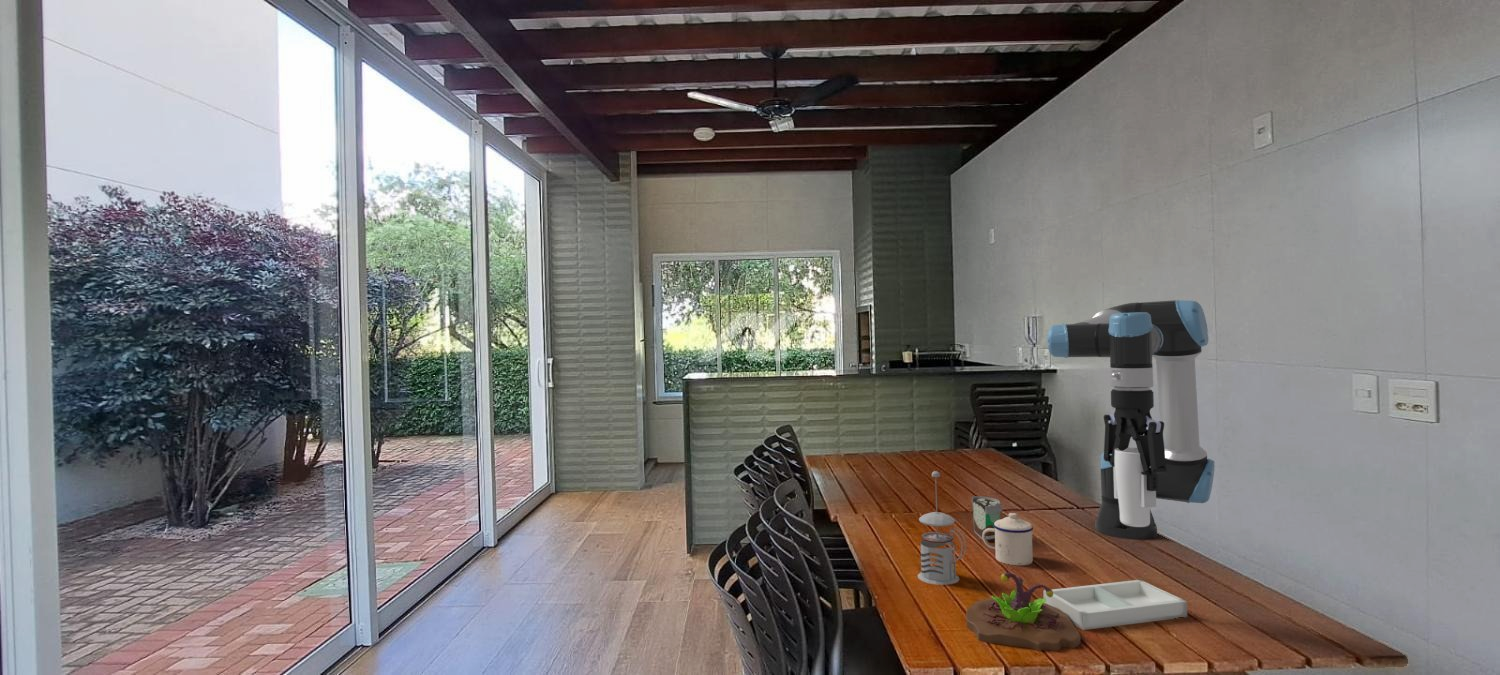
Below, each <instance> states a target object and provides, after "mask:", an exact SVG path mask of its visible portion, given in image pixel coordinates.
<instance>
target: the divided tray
mask: <svg viewBox="0 0 1500 675" xmlns="http://www.w3.org/2000/svg"><path fill="white" fill-rule="evenodd" d="M1051 590H1052V591H1053V596H1052V597H1051V598H1050V597H1048V596H1047V594H1046V589H1044V590H1043V593H1042V594H1043V598H1045V599H1046V601H1045V602H1044V603H1046V604H1048V605H1051V606H1053V607H1056V608H1058V609H1060V610H1061V611H1063V612H1064V613H1066V614H1068V617H1069V619H1070V620H1071V622H1072V623H1073V625H1074V626H1075V627H1077V628H1079V629H1081V630H1082V631H1086V630H1087V631H1088V630H1093V629H1094V630H1095V629H1102V628H1103V629H1104V628H1112V627H1117V626H1120V627H1121V626H1126V625H1127V626H1128V625H1134V624H1136V625H1137V624H1142V623H1153V622H1157V621H1160V622H1161V621H1167V620H1174V618H1176V619H1179V618H1178V617H1184V618H1188V600H1185V599H1183V598H1181V597H1179V596H1177V595H1174V594H1172V593H1170V592H1168V591H1165V590H1163V589H1161V588H1159V587H1156V586H1155V585H1152V584H1151V583H1148V582H1146V581H1144V580H1142V579H1134V580H1127V581H1125V580H1124V581H1115V582H1108V583H1100V584H1099V583H1098V584H1090V585H1081V586H1072V587H1063V588H1062V587H1061V588H1054V589H1051Z"/></svg>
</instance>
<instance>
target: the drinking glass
mask: <svg viewBox="0 0 1500 675" xmlns="http://www.w3.org/2000/svg"><path fill="white" fill-rule="evenodd" d="M1114 466H1115V477H1116V485H1117V493H1118V502H1119V511H1120V521H1121V523H1123V524H1125V525H1128V526H1132V527H1146V526H1148V525H1149V524H1150V510H1151V507H1146V508H1144V507H1141V472H1144V470H1143V466H1142V463H1141V459H1140V453H1139V452H1138V449H1137V447H1128V448H1127V449H1125V450H1123V451H1121V450H1119V449H1118V448H1117V449H1115V454H1114ZM1150 468H1151V466H1150Z"/></svg>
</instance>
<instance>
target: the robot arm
mask: <svg viewBox="0 0 1500 675" xmlns="http://www.w3.org/2000/svg"><path fill="white" fill-rule="evenodd" d="M1047 332H1048V333H1047V337H1046V338H1047V341H1046V342H1047V349H1048V352H1049V354H1050V355H1051V356H1052V357H1053V358H1054V357H1055V358H1065V359H1067V358H1110V359H1109V362H1110V365H1109V366H1110V386H1111V387H1113V389H1111V391H1110V406H1111V407H1112V408H1114V409H1115V410H1114V412H1113V414H1104V415H1103V422H1104V441H1103V443H1104V446H1103V453H1102V454H1101V457H1100V466H1099V469H1100V486H1101V487H1100V488H1101V489H1100V490H1101V492H1100V493H1101V502H1100V503H1101V504H1100V507H1099V509H1098V514H1097V517H1096V518H1095V521H1094V523H1095V525H1094V526H1095V530H1096V531H1097V532H1099V533H1100V534H1103V535H1106V536H1110V537H1114V538H1117V539H1118V538H1119V539H1124V540H1125V539H1127V540H1149V539H1154V538H1156V537H1157V536H1158V527H1157V524H1156V522H1155V519H1154V515H1153V513H1152V511H1151V509H1150V524H1149V525H1148V526H1146V527H1132V526H1128V525H1125V524H1123V523H1121V521H1120V511H1119V502H1118V493H1117V485H1116V477H1115V466H1114V454H1115V449H1117V448H1118V449H1119V450H1121V451H1123V450H1125V449H1127V448H1129V446H1130V443H1131V442H1130V441H1131V438H1132V440H1133V441H1135V446H1136V448H1137V449H1138V452H1139V453H1140V459H1141V463H1142V466H1143V470H1144V472H1141V507H1144V508H1146V507H1150V508H1154V507H1155V508H1156V507H1157V499H1158V500H1166V501H1167V500H1168V501H1175V502H1184V503H1187V504H1190V503H1194V504H1205V503H1207V502H1208V501H1209V500H1210V497H1211V493H1212V489H1213V482H1214V476H1215V467H1216V466H1215V460H1213V459H1211V458H1208V453H1207V451H1206V450H1205V449H1204V448H1202V447H1201V446H1200V445H1201V444H1200V429H1199V427H1200V426H1199V412H1198V409H1199V408H1198V392H1197V378H1196V376H1197V374H1196V358H1197V357H1198V356H1200V354H1202V347H1205V346H1207V345H1208V344H1209V334H1208V332H1209V331H1208V324H1207V319H1206V316H1205V311H1204V309H1203V307H1202V306H1201V304H1200V303H1199V302H1198V301H1196V300H1179V299H1173V300H1161V301H1160V300H1159V301H1144V302H1138V301H1137V302H1130V303H1122V304H1119V305H1117V306H1112V307H1109V308H1107V309H1103V310H1100V311H1098V312H1097V313H1095V314H1094V315H1093V316H1092V318H1088V319H1085V320H1083V321H1080V322H1076V323H1070V324H1069V323H1068V324H1067V323H1062V324H1054V325H1051V326H1050V327H1049V329H1048V331H1047ZM1153 359H1155V364H1156V367H1155V368H1156V381H1157V398H1158V399H1157V400H1158V412H1159V415H1158V416H1159V421H1157V420H1154V419H1153V417H1152V415H1151V409H1153V408H1154V406H1155V404H1154V400H1155V399H1154V396H1155V395H1154V391H1153V390H1152V389H1151V388H1153V387H1154V367H1153ZM1150 466H1151V468H1150Z"/></svg>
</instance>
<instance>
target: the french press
mask: <svg viewBox="0 0 1500 675" xmlns="http://www.w3.org/2000/svg"><path fill="white" fill-rule="evenodd" d="M940 475H941V474H940V472H939V471H937V470H934V471H933V472H932V473H931V477H933V478H935V479H934V481H935V484H934V485H935V486H934V487H937V478H940ZM937 491H938V490H937V488H935V509H936V510H935V511H932V512H928V513H925V514H923V515H922V516H920V517H919V518H918V520H919V522H920V523H922V525H924V526H925V525H926V526H930V527H936V532H935V531H930V532H925V533H924V534H922V535H921V538H922V540H921V541H920V568H921V571H920V573H918V574H917V579H918V580H920V581H921V582H923V583H927V584H930V585H938V586H939V585H941V586H945V585H947V586H948V585H953V584H956V583H958V582H959V581H960V577H959V575H958V574H956V572H957V571H956V569H957V568H956V565H957V564H956V562H958V560H960V559H962V558H964V556H965V554H966V550H967V543H966V539H965V536H964V535H963V533H962V532H961V531H960V530H959V529H958V528H957V527H954V528H952V529H950V530H949V534H948V533H944V532H943V533H942V532H938V530H939V529H938V527H948V526H951V525H953V524H955V522H956V520H955V518H954V517H952V516H951V515H949V514H946V513H944V512H939V511H938V497H937V495H938V493H937ZM955 530H956V531H957V532H958V533H959V534H960V535H961V537H962V539H963V542H964V552H963V543H962V540H961V537H960V536H959V535H958V533H957V532H956V531H955ZM954 534H955V535H956V536H957V538H958V540H959V541H960V550H961V551H960V554H959V557H958V558H956V547H955V542H953V540H954V537H953V535H954ZM945 545H946V547H943V546H945ZM947 546H950V547H947ZM941 547H942V548H941ZM931 554H935V555H931ZM930 559H933V560H930ZM933 565H935V566H933Z"/></svg>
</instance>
